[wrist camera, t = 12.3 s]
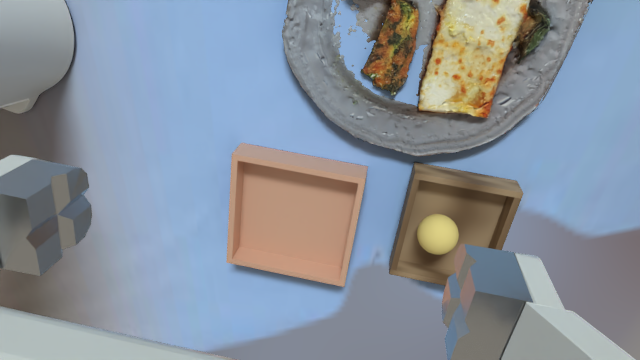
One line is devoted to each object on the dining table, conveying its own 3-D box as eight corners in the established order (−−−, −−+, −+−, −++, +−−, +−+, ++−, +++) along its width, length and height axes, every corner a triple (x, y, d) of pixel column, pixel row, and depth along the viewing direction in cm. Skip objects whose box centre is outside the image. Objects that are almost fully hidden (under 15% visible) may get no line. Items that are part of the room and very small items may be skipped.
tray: (389, 259, 50) (389, 274, 48) (414, 161, 45) (415, 172, 43) (480, 278, 50) (484, 293, 47) (516, 180, 44) (523, 193, 42)
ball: (428, 234, 49) (405, 246, 46) (437, 202, 47) (413, 212, 44) (460, 254, 46) (437, 268, 44) (471, 221, 44) (448, 233, 42)
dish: (235, 247, 53) (226, 262, 50) (241, 142, 47) (231, 153, 44) (346, 270, 52) (344, 287, 49) (367, 166, 46) (365, 179, 43)
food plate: (336, -212, 33) (330, -228, 30) (645, -123, 33) (670, -130, 30) (270, 103, 45) (261, 115, 42) (495, 171, 45) (502, 188, 42)
